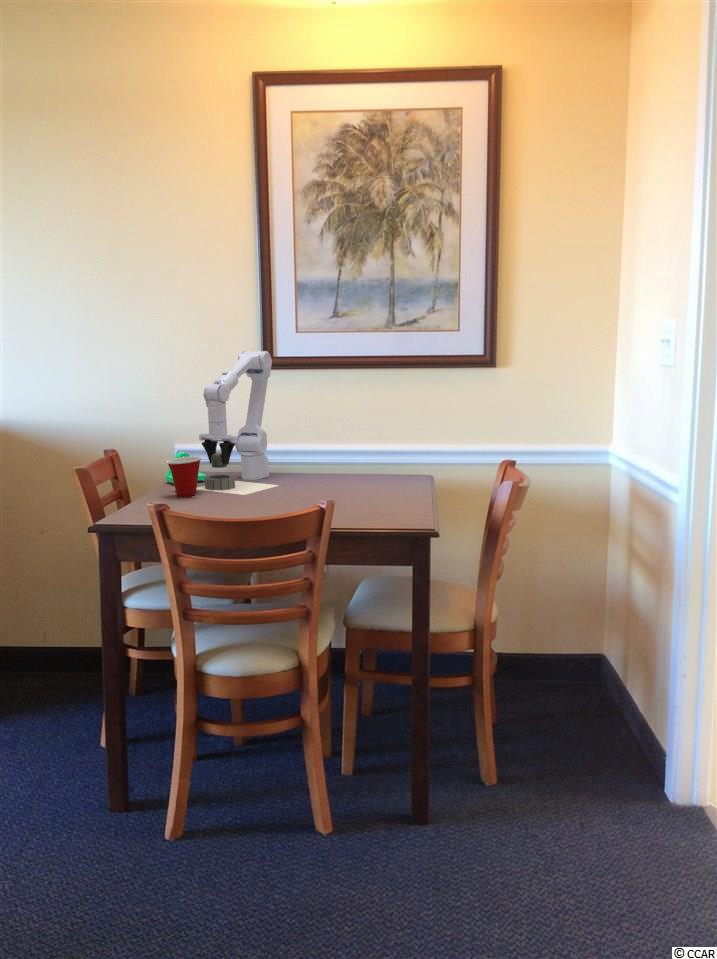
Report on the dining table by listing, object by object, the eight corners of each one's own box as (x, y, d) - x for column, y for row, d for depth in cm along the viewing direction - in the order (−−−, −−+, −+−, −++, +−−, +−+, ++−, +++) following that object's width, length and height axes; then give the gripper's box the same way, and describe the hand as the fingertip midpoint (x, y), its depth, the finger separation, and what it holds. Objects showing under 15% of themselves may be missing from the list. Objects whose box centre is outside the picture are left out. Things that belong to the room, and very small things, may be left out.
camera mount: (173, 486, 291) (172, 456, 290) (165, 483, 298) (164, 453, 296) (207, 482, 298) (206, 452, 296) (198, 479, 304) (197, 450, 302)
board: (227, 482, 297) (227, 469, 296) (279, 487, 285) (279, 474, 284) (191, 491, 282) (190, 478, 281) (244, 497, 270) (244, 483, 269)
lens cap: (219, 464, 285) (218, 452, 284) (230, 465, 282) (230, 453, 282) (208, 466, 281) (207, 454, 280) (219, 468, 278) (219, 455, 278)
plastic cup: (170, 493, 279) (168, 456, 277) (204, 492, 280) (202, 455, 277) (165, 500, 268) (163, 461, 266) (201, 498, 269) (199, 460, 267)
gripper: (191, 421, 280) (193, 463, 282) (226, 424, 272) (228, 467, 274) (206, 419, 285) (208, 460, 288) (241, 421, 278) (242, 463, 280)
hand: (219, 463), depth 281 cm, fingers closed on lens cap, 5 cm apart
